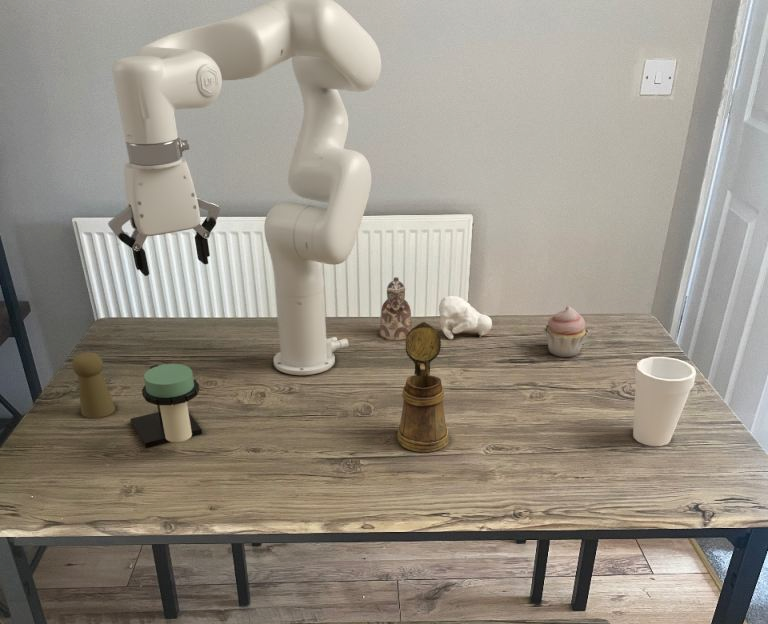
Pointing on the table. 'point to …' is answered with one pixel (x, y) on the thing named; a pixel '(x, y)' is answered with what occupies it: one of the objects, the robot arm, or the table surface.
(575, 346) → the cupcake
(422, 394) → the wooden mug
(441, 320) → the white animal statue
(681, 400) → the foam cup
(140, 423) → the holder
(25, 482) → the table surface
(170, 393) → the canister
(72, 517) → the table surface
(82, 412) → the tan pawn
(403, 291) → the figurine
